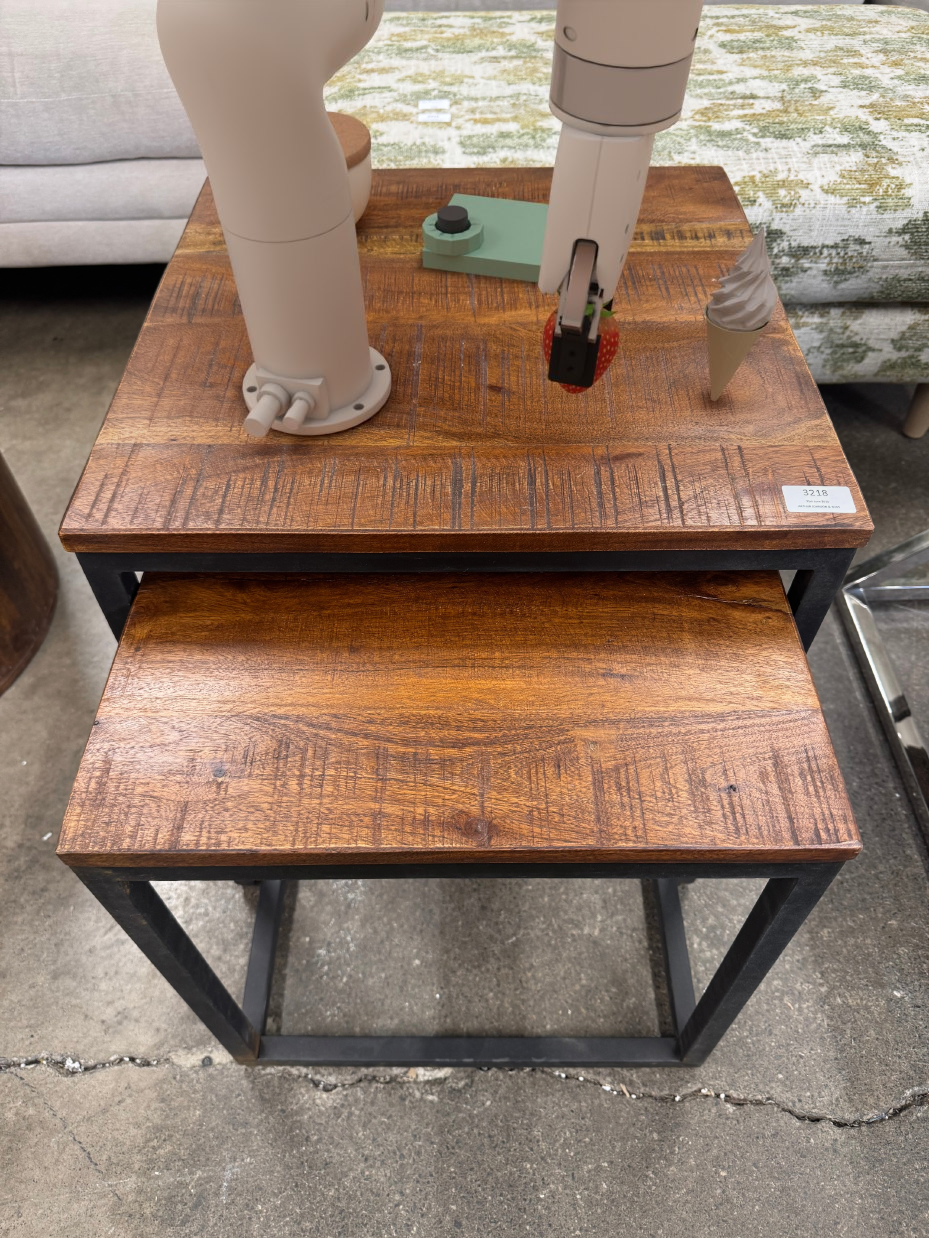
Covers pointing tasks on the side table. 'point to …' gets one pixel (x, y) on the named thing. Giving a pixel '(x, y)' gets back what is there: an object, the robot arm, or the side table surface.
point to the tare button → (452, 219)
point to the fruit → (606, 349)
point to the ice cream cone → (739, 313)
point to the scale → (490, 239)
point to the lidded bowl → (355, 158)
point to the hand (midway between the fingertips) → (578, 355)
